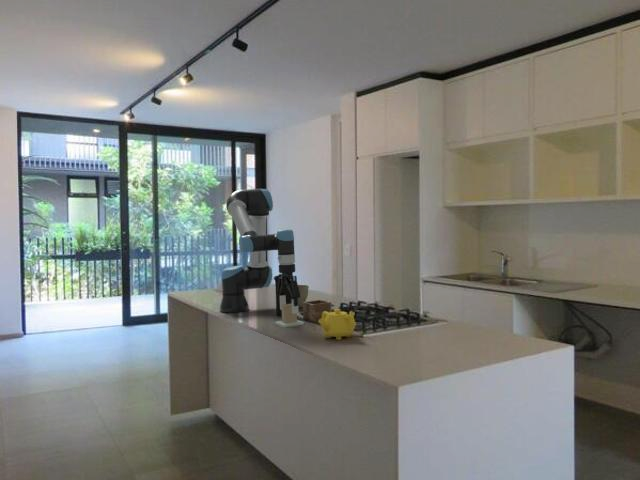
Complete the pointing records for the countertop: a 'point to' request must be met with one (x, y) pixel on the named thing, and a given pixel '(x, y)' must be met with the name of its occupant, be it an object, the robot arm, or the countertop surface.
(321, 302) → the crate
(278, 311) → the container
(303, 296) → the planter bowl
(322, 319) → the yellow rounded knobbed block
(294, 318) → the beige block on base
